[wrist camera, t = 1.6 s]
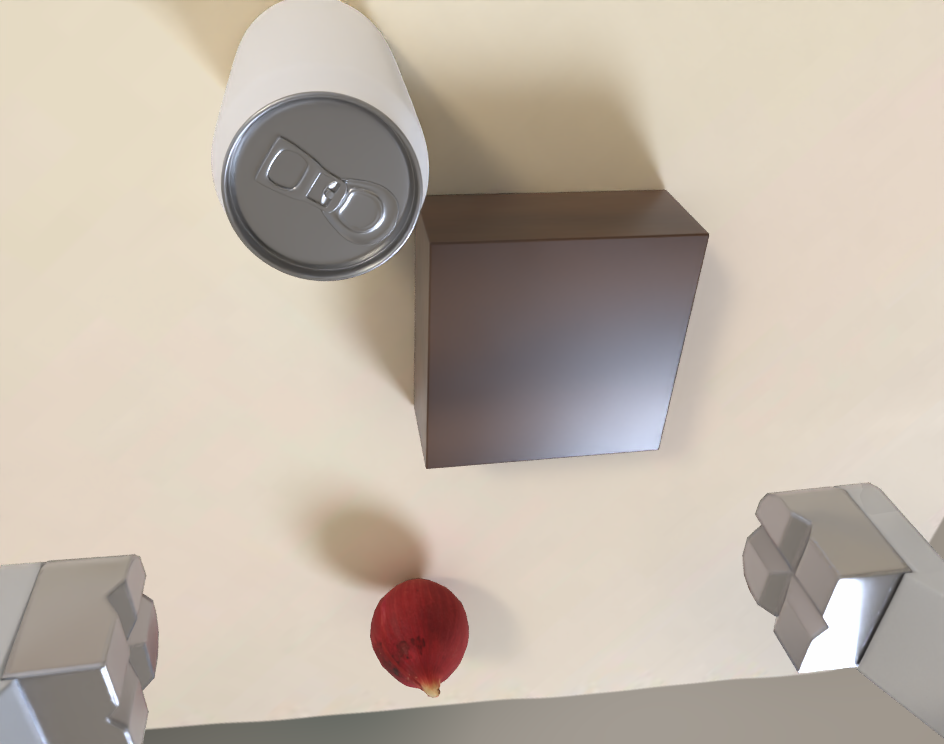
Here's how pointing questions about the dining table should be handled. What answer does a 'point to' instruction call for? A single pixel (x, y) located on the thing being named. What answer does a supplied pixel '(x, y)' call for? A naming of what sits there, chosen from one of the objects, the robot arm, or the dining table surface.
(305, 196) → the can
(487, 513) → the dining table surface
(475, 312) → the brown square block
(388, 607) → the onion
